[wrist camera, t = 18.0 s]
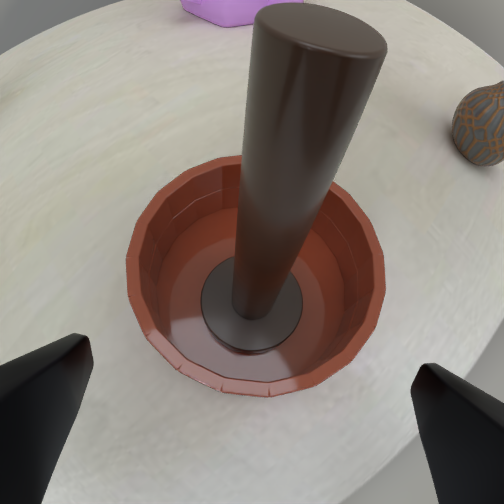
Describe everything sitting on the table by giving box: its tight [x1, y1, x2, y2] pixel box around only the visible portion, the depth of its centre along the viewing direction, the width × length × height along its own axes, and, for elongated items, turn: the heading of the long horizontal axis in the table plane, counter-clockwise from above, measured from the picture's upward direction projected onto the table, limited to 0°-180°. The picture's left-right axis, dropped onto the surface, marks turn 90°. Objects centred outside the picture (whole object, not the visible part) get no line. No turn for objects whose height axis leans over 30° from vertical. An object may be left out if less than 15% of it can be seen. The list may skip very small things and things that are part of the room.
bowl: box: [126, 155, 386, 398], centre depth 15 cm, size 11×11×4 cm
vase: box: [452, 81, 504, 166], centre depth 21 cm, size 7×7×9 cm
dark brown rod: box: [201, 2, 387, 354], centre depth 10 cm, size 5×5×14 cm
